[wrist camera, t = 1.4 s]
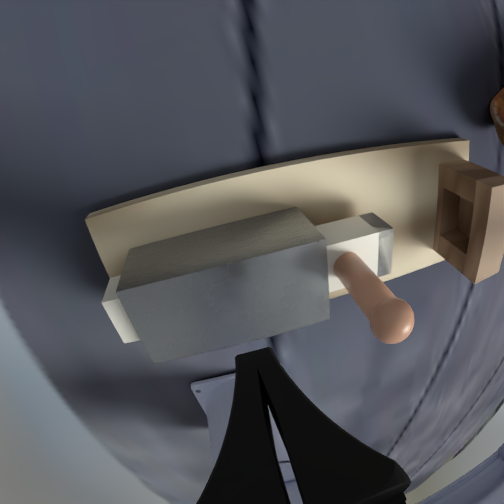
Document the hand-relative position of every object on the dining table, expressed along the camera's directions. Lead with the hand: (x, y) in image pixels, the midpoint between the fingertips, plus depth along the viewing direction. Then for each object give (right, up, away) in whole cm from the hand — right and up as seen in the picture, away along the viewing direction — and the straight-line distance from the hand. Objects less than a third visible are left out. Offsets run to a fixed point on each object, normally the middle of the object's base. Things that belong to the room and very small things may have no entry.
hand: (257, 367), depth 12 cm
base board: (+4, +6, +9) cm, 11 cm away
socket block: (+15, +8, +9) cm, 19 cm away
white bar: (0, +4, +6) cm, 7 cm away
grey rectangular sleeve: (-2, +4, +8) cm, 9 cm away
